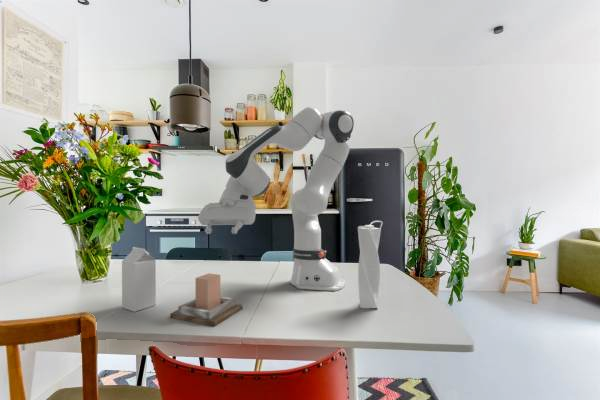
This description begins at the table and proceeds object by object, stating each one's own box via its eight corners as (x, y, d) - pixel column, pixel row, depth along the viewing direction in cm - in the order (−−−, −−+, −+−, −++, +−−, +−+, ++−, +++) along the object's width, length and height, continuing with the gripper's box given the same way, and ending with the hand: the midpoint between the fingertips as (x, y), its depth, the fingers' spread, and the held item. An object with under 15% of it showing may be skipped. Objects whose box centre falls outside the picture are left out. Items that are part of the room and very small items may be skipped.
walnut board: (242, 308, 97) (242, 298, 97) (214, 326, 84) (214, 314, 84) (201, 302, 103) (201, 292, 103) (170, 317, 90) (170, 306, 90)
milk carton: (134, 312, 94) (134, 250, 93) (121, 307, 97) (121, 248, 97) (155, 305, 100) (155, 247, 99) (143, 301, 103) (143, 245, 103)
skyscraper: (380, 302, 103) (381, 219, 102) (383, 310, 95) (383, 221, 95) (357, 301, 104) (357, 219, 104) (357, 309, 97) (358, 221, 96)
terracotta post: (220, 306, 95) (220, 274, 95) (207, 313, 90) (207, 279, 90) (208, 304, 97) (208, 273, 97) (195, 311, 91) (195, 278, 91)
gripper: (202, 197, 112) (188, 226, 102) (255, 196, 108) (246, 226, 98) (209, 209, 116) (196, 238, 107) (260, 208, 112) (251, 238, 103)
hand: (220, 232), depth 102 cm, fingers open, 8 cm apart
